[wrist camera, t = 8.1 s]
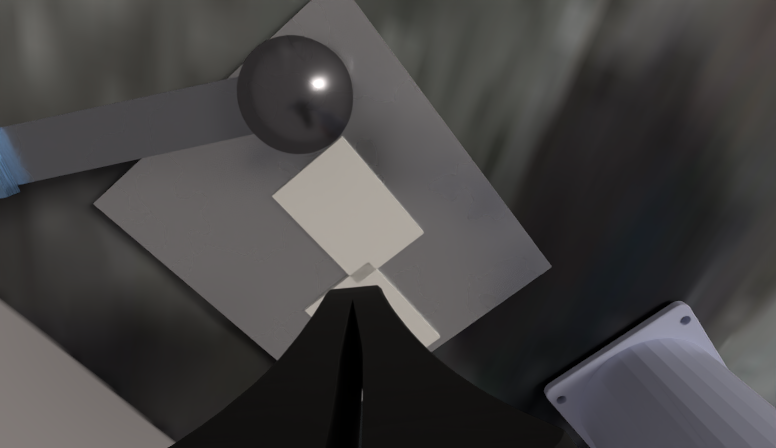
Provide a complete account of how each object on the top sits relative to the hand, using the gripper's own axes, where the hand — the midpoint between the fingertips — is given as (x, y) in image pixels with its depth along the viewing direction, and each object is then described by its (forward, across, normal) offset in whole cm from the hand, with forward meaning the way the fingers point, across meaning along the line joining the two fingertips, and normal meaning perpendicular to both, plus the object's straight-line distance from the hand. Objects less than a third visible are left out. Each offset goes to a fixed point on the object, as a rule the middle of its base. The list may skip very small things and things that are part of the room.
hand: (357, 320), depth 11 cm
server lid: (+7, +1, 0) cm, 7 cm away
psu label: (+7, 0, -1) cm, 7 cm away
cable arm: (+6, +6, -5) cm, 10 cm away
